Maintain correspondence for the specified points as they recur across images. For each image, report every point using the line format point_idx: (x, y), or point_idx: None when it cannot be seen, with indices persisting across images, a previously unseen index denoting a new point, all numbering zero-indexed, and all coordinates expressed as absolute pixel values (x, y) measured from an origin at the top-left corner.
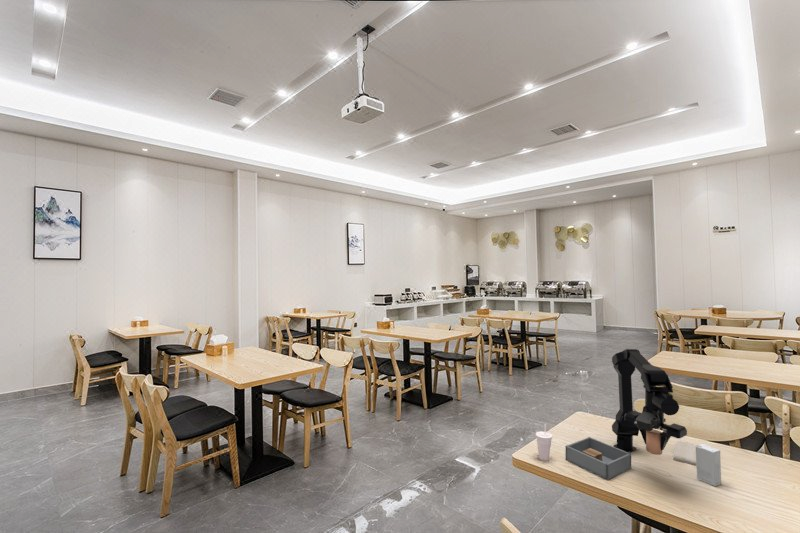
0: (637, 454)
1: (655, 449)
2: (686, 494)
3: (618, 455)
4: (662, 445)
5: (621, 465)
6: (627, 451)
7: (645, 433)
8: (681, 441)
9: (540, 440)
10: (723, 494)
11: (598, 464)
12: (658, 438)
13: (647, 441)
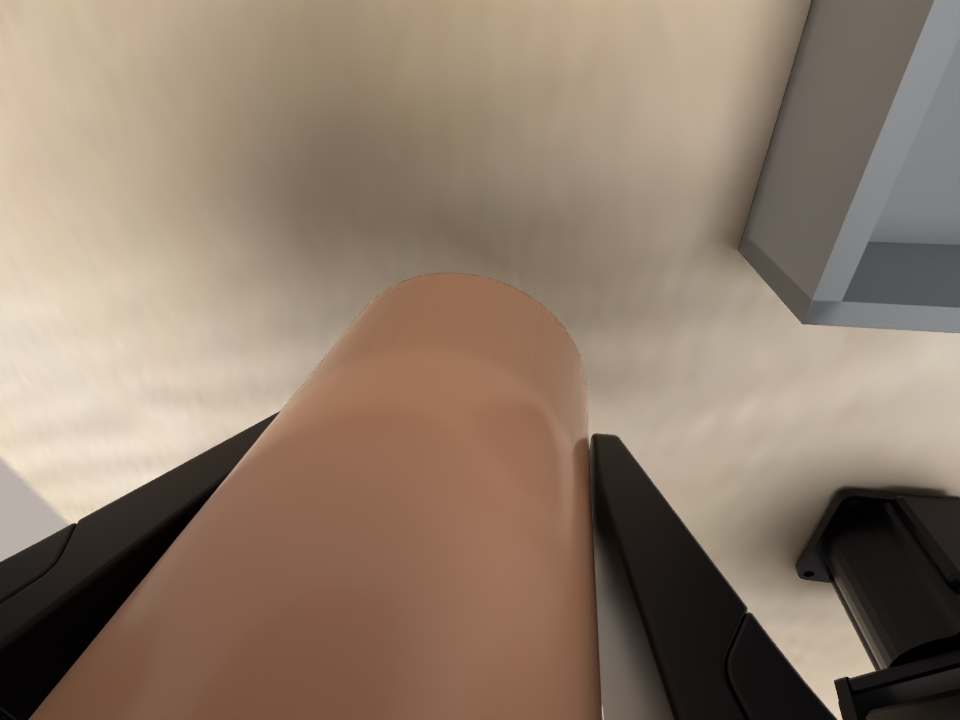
0: (766, 509)
1: (342, 337)
2: (241, 200)
3: (950, 273)
4: (189, 466)
5: (855, 28)
6: (852, 495)
7: (643, 710)
8: None
9: None
10: (184, 396)
11: None
12: (119, 608)
13: (500, 426)
